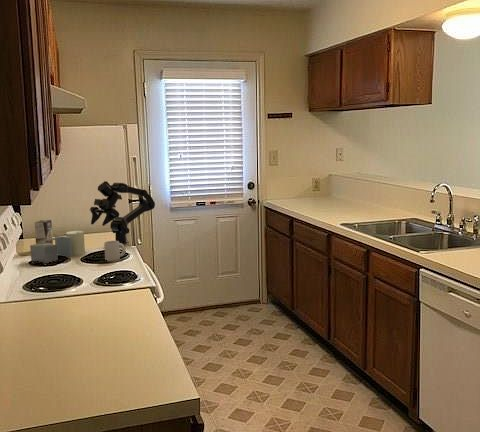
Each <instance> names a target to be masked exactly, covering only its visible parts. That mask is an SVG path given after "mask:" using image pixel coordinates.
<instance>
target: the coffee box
mask: <svg viewBox="0 0 480 432" xmlns="http://www.w3.org/2000/svg"><path fill="white" fill-rule="evenodd" d="M52 224H53V223H52V219H42V220H39V221H35V222H34V234H35V236H34V237H35V244H39V243H46V241H45V240H46V239H51V238H54V237H53V226H52ZM48 243H51V244H53V245H54V240H51V241H48Z"/></svg>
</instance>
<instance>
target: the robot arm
mask: <svg viewBox="0 0 480 432" xmlns="http://www.w3.org/2000/svg"><path fill="white" fill-rule="evenodd" d="M97 191H98V192H99V193H100V194H101V195H102V196H103V197H106V198H102V199H100V198H99V199H98V198H95V199H94V202H93V205H94V206H91V207H90V208H89V211H90V213H91V221H90V224H91V225H94V224H95V223H96V222H97V221H98V220H99V219H100V218H101V216H102V215H103V214H104V215H105V217H104V220H103V222H102V226H103V227H104V226H106V225H107V224H109V223H110V226H109V227H110V229H111V232H112V234H114V235H115V241H119V243H121V244H123V245H124V246H125V245H126V244H127V245H128V244H129V243H130V241H128V238H127V235H128V234H129V233H130V228H128V226H129V224H130V223H131V222H133V221H134V220H135V219H137V218H138V217H139V216H141V215H142V214H144V213H145V212H148V211H151V210H153V209H154V208H155V207H156V203H155V201H154V199H153V197H152V196H151V195H150V194H149V192H148V191H147V190H146V189H143V188H142V189H141V188H137V187H132V186H130V185H128V184H126V183H124V182H113V183H112V184H110V183H109V182H108V181H106V180H105V181H103V182H102V183H100V184H99V185H98V186H97ZM122 194H131V195H134V196H137V197H138V202H139V204H138V205H137V207H135V208H134V209H132V210H131V211H130V212H128V213H127V214H125V215H124V216H123V217H122V216H120V212H119V211H118V210H117V209H116V207H117V206H116V203H117V202H118V200H120V201H121V200H122V199H123V197H122Z"/></svg>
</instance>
